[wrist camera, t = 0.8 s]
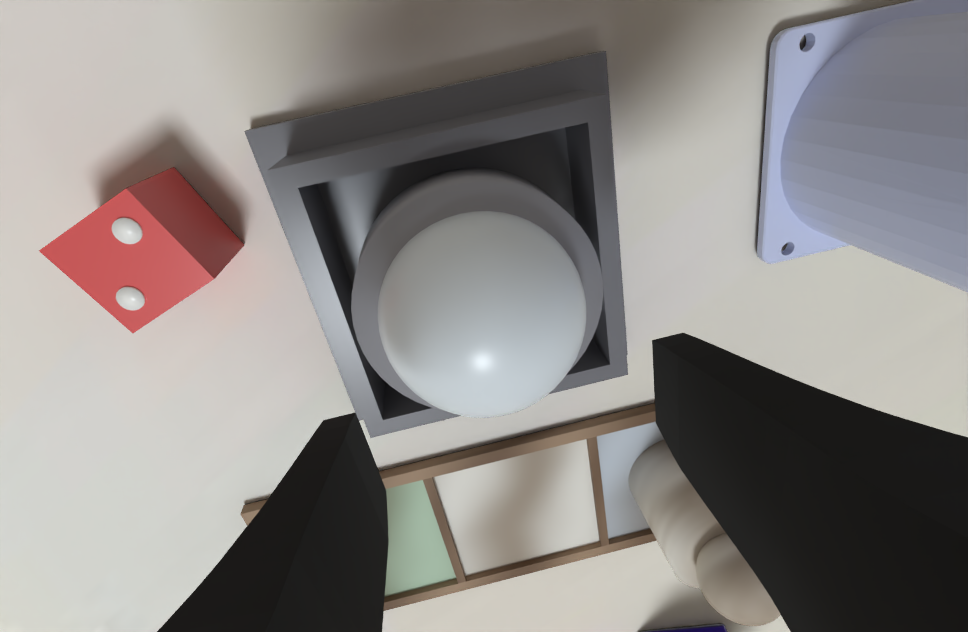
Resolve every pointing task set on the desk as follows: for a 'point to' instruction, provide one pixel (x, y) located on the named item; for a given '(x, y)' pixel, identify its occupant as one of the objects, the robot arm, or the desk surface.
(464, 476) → the compartment tray
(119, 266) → the red die
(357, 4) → the desk surface
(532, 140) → the popper base
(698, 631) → the supplement box
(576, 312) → the dome
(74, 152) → the desk surface
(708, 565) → the pawn
